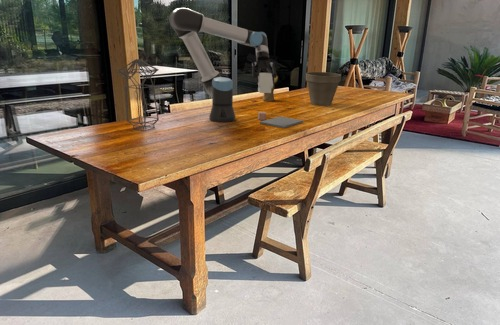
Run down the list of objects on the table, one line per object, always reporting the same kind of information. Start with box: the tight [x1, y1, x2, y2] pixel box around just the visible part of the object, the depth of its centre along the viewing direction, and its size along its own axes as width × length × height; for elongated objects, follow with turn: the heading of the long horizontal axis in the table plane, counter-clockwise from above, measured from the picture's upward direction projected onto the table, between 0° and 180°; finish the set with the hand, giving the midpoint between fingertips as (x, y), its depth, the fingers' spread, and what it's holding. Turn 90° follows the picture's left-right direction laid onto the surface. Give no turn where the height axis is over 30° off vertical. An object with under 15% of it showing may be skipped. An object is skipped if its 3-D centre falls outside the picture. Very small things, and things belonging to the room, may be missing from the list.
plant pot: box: [305, 71, 342, 107], centre depth 280 cm, size 25×25×22 cm
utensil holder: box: [262, 75, 279, 102], centre depth 292 cm, size 9×14×18 cm, turn 138°
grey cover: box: [257, 72, 272, 94], centre depth 223 cm, size 7×7×10 cm
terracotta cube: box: [257, 111, 267, 121], centre depth 230 cm, size 4×4×4 cm
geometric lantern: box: [117, 58, 160, 132], centre depth 197 cm, size 16×16×35 cm
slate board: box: [259, 116, 304, 129], centre depth 222 cm, size 20×16×1 cm
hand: (265, 86), depth 221 cm, fingers closed on grey cover, 7 cm apart
